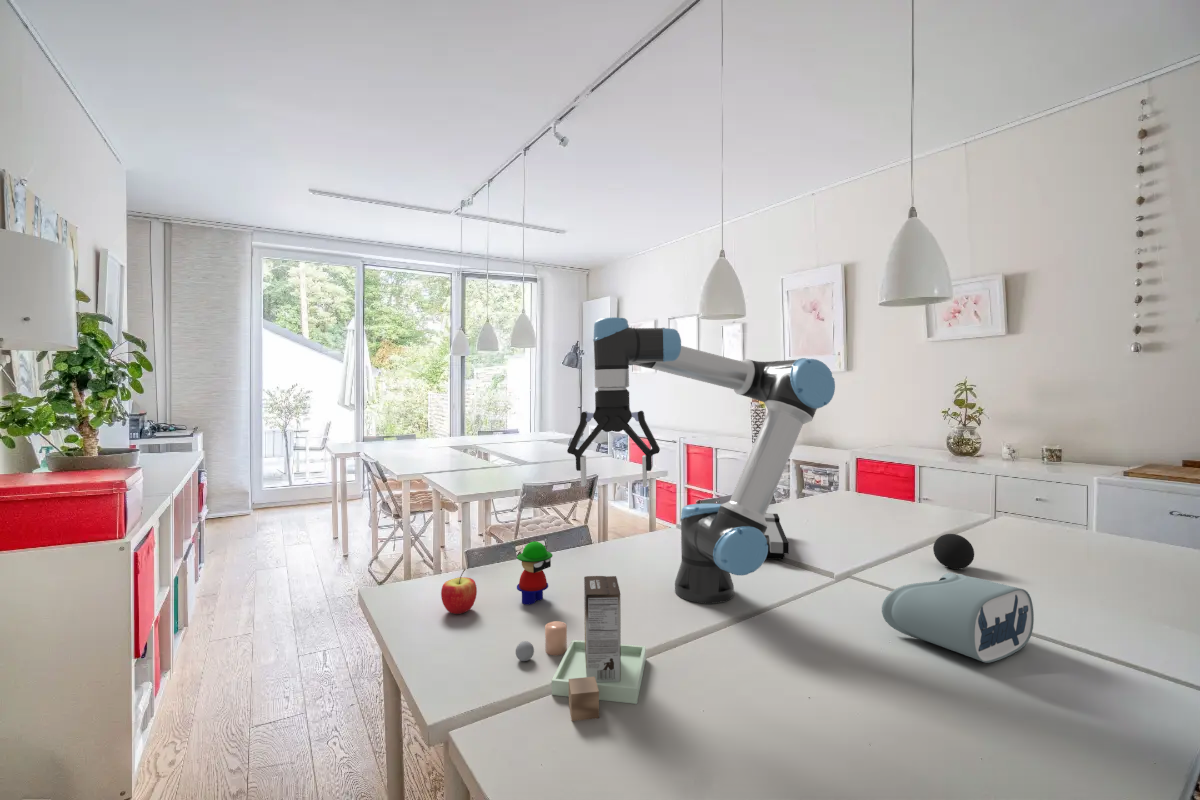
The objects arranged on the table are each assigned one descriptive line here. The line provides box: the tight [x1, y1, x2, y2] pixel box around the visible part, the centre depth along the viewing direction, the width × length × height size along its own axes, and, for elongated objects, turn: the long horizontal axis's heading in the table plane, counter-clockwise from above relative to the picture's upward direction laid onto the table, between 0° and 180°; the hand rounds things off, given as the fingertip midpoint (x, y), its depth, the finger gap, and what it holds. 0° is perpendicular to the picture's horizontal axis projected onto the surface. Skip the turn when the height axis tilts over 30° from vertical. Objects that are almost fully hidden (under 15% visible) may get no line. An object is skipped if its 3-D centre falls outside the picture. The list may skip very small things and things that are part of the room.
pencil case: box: [881, 572, 1035, 664], centre depth 112 cm, size 22×19×13 cm
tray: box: [551, 639, 647, 705], centre depth 99 cm, size 15×15×3 cm
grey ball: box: [515, 640, 535, 662], centre depth 105 cm, size 4×4×4 cm
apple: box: [440, 568, 478, 615], centre depth 127 cm, size 8×8×10 cm
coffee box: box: [583, 575, 622, 683], centre depth 98 cm, size 9×6×16 cm
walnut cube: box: [568, 677, 600, 722], centre depth 88 cm, size 4×4×4 cm
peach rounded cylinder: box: [544, 620, 568, 656], centre depth 108 cm, size 4×4×5 cm
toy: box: [516, 540, 554, 606], centre depth 133 cm, size 9×9×15 cm
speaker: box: [932, 533, 975, 570], centre depth 155 cm, size 10×10×10 cm
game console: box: [764, 512, 789, 560], centre depth 177 cm, size 21×32×8 cm, turn 167°
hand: (614, 485), depth 117 cm, fingers open, 13 cm apart
